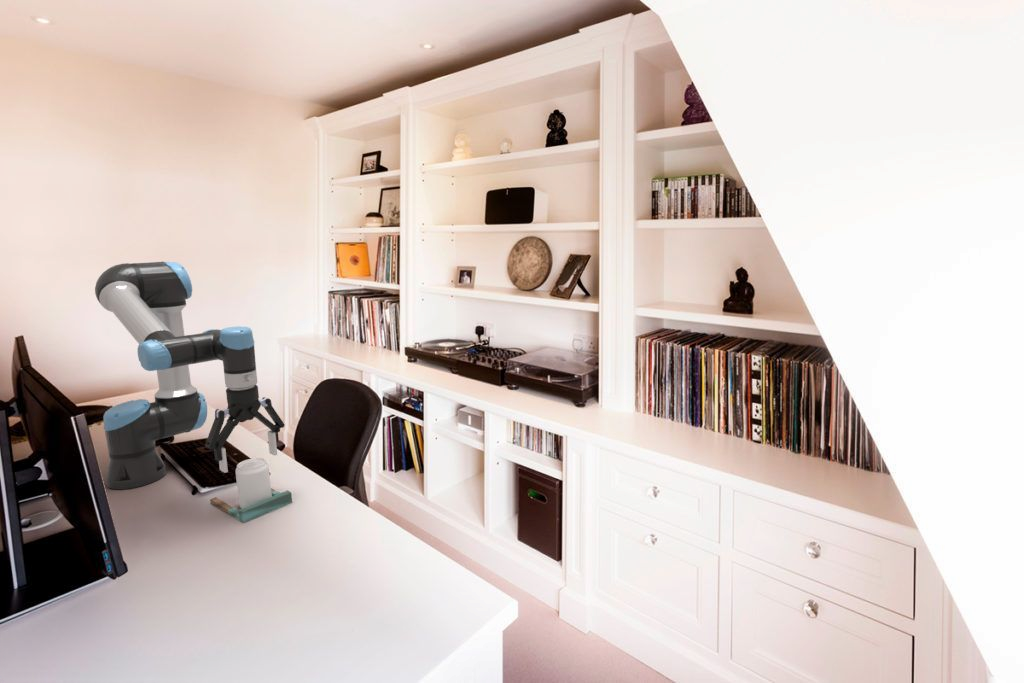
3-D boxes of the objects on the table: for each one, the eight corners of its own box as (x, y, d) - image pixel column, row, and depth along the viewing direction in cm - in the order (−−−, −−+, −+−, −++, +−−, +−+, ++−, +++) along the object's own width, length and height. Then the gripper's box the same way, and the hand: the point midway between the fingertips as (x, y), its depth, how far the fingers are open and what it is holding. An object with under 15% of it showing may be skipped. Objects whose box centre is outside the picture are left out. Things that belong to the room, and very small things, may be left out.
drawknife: (210, 503, 150) (209, 493, 149) (258, 485, 160) (257, 475, 160) (243, 523, 139) (242, 512, 138) (292, 502, 150) (291, 492, 149)
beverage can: (259, 513, 144) (255, 470, 142) (232, 510, 146) (227, 468, 143) (278, 498, 152) (274, 458, 149) (252, 496, 153) (248, 456, 151)
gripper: (198, 400, 130) (207, 483, 134) (293, 378, 149) (299, 450, 154) (184, 395, 134) (194, 474, 139) (278, 374, 154) (284, 444, 158)
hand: (249, 462), depth 146 cm, fingers open, 13 cm apart
